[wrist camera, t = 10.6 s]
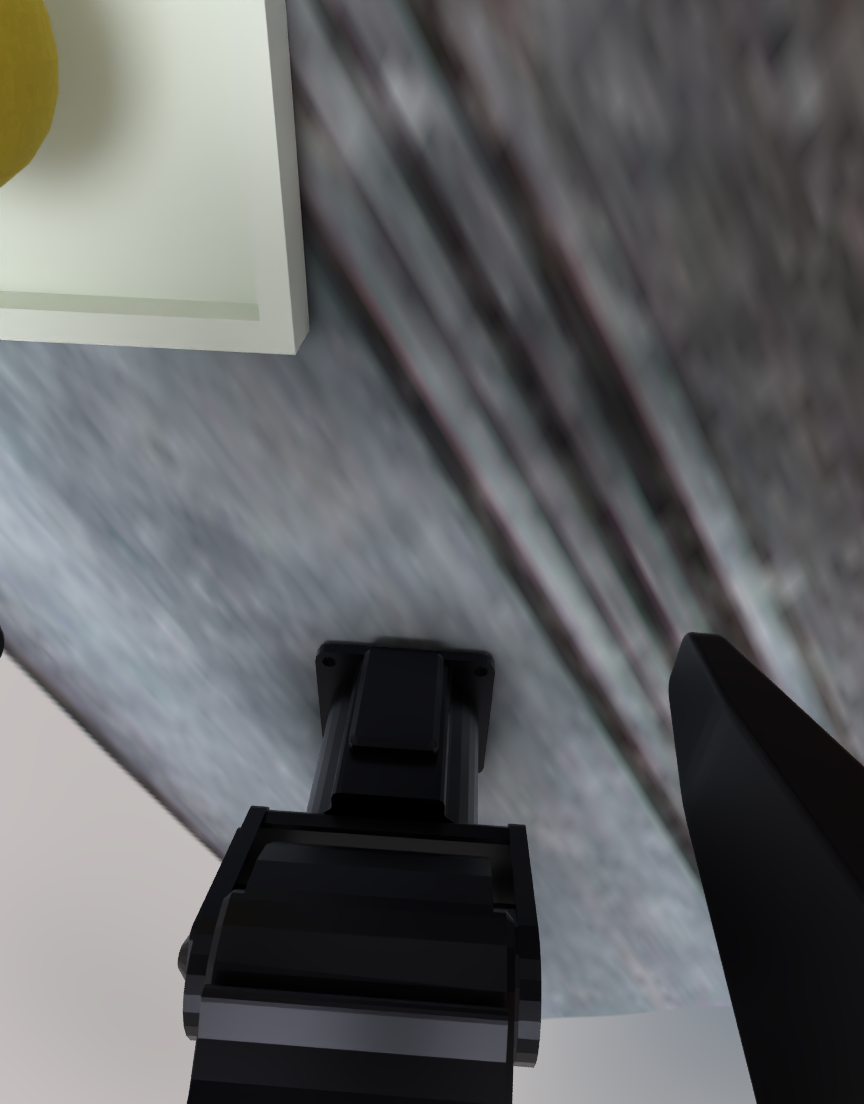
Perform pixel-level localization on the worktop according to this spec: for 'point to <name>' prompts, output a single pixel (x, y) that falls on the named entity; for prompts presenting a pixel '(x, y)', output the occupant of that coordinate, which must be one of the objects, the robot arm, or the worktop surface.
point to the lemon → (25, 82)
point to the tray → (161, 184)
